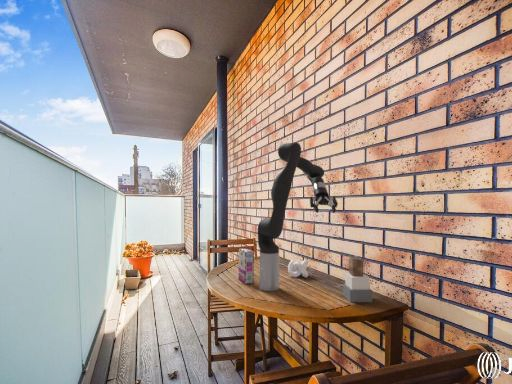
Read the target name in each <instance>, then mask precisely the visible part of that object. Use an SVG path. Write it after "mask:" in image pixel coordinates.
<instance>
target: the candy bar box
mask: <svg viewBox="0 0 512 384" xmlns="http://www.w3.org/2000/svg"><path fill="white" fill-rule="evenodd" d="M254 259H255V253H254V251H253V250H251V249H249V248H239V249H238V280H239V281H240V282H242V283H243V284H244V285H251V284H254V277H255V276H254V272H255V271H254V265H255V263H254V262H255V261H254Z"/></svg>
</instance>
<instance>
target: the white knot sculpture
mask: <svg viewBox="0 0 512 384" xmlns="http://www.w3.org/2000/svg"><path fill="white" fill-rule="evenodd" d="M308 267H309V262H308V260H307V259H304V260H302V262H301V261H300V260H298V259H296V258H295V259H291V260H290V261H289V263H288V265H287V271H288V275H289V276H291V277H292V278H298V277H301V275H302V277H304V278H308V276H309V273H308V271H307V268H308Z"/></svg>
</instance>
